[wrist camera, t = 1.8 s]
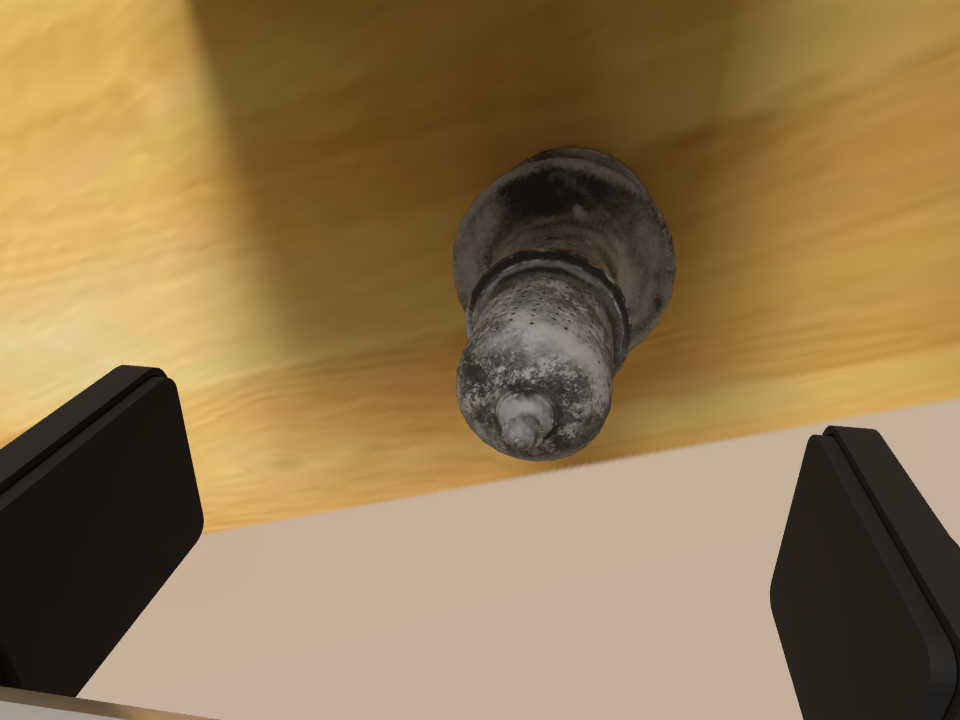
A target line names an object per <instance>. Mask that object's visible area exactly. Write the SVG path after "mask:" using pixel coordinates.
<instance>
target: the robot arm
mask: <svg viewBox="0 0 960 720" xmlns="http://www.w3.org/2000/svg"><path fill="white" fill-rule="evenodd" d="M203 523H204V518H203V512H202V507H201V502H200V497H199V492H198V488H197V483H196V478H195V473H194V468H193V463H192V459H191V454H190V449H189V444H188V439H187V434H186V430H185V425H184V420H183V415H182V410H181V405H180V400H179V396H178V391H177V387H176V384H175V382H174V381H173V380H172V379H170V378H167V375H166V374H165V373H164V371H163V370H161V369H160V368H153V367H142V366H130V365H121V366H119V367H116V368H115V369H113V370H112V371H111V372H109V373H108V374H106V375H105V376H104V377H102V378H101V379H99V380H98V381H96V382H95V383H94V384H92V385H91V386H89V387H88V388H87V389H85V390H84V391H82V392H81V393H79V394H78V395H77V396H75V397H74V398H72V399H71V400H70V401H68V402H67V403H65V404H64V405H63V406H61V407H60V408H58V409H57V410H55V411H54V412H53V413H51V414H50V415H48V416H47V417H46V418H44V419H43V420H41V421H40V422H38V423H37V424H36V425H34V426H33V427H31V428H30V429H29V430H27V431H26V432H24V433H23V434H21V435H20V436H19V437H17V438H16V439H14V440H13V441H12V442H10V443H9V444H7V445H6V446H5V447H3V448H2V449H0V720H217V719H211V718H205V717H199V716H192V715H186V714H179V713H173V712H166V711H160V710H153V709H146V708H140V707H134V706H127V705H120V704H114V703H107V702H100V701H94V700H88V699H81V698H75V697H76V696H77V695H78V693H79V692H80V691H81V689H82V688H83V687H84V686H85V684H86V683H87V682H88V681H89V679H90V678H91V677H92V675H93V674H94V673H95V672H96V670H97V669H98V668H99V666H100V665H101V664H102V662H103V661H104V660H105V659H106V657H107V656H108V655H109V654H110V652H111V651H112V650H113V649H114V647H115V646H116V645H117V643H118V642H119V641H120V640H121V638H122V637H123V636H124V634H125V633H126V632H127V631H128V629H129V628H130V627H131V625H132V624H133V623H134V622H135V620H136V619H137V618H138V616H139V615H140V614H141V612H142V611H143V610H144V609H145V608H146V606H147V605H148V604H149V602H150V601H151V600H152V599H153V597H154V596H155V595H156V593H157V592H158V591H159V590H160V588H161V587H162V586H163V585H164V583H165V582H166V581H167V579H168V578H169V577H170V576H171V574H172V573H173V572H174V570H175V569H176V568H177V567H178V565H179V564H180V563H181V561H182V560H183V559H184V557H185V556H186V555H187V554H188V553H189V551H190V550H191V549H192V547H193V546H194V545H195V544H196V542H197V541H198V539H199V538H200V535H201V533H202V529H203ZM770 603H771V609H772V613H773V617H774V620H775V623H776V627H777V630H778V634H779V637H780V641H781V644H782V648H783V651H784V654H785V658H786V661H787V665H788V668H789V672H790V675H791V678H792V682H793V685H794V689H795V692H796V696H797V699H798V702H799V706H800V709H801V712H802V716H803V719H804V720H960V547H959V546H958V544H957V543H956V542H955V541H954V540H953V539H952V538H951V537H950V536H949V534H948V533H947V531H946V530H945V528H944V527H943V526H942V524H941V523H940V521H939V520H938V518H937V517H936V515H935V514H934V513H933V511H932V509H931V508H930V507H929V505H928V504H927V502H926V501H925V499H924V498H923V496H922V495H921V493H920V492H919V490H918V489H917V487H916V486H915V485H914V483H913V482H912V480H911V479H910V477H909V476H908V474H907V473H906V471H905V470H904V469H903V467H902V465H901V464H900V463H899V461H898V460H897V458H896V457H895V455H894V454H893V452H892V451H891V449H890V448H889V446H888V445H887V444H886V442H885V441H884V439H883V438H882V436H881V435H880V433H878V431H876V430H874V429H866V428H854V427H853V428H852V427H842V426H828V427H827V428H826V429H825V431H824V432H823V434H822V435H812V436H811V437H810V438H809V440H808V443H807V446H806V450H805V454H804V458H803V462H802V466H801V470H800V473H799V477H798V481H797V485H796V489H795V492H794V496H793V500H792V504H791V508H790V512H789V516H788V520H787V523H786V527H785V531H784V535H783V539H782V543H781V547H780V551H779V554H778V558H777V562H776V566H775V570H774V574H773V578H772V582H771V587H770Z"/></svg>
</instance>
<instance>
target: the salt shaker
mask: <svg viewBox="0 0 960 720" xmlns="http://www.w3.org/2000/svg"><path fill="white" fill-rule="evenodd" d="M675 272H676V265H675V255H674V246H673V239H672V236H671V234H670V232H669V229H668V227H667V224H666V222H665V219H664V217H663V214H662V212H661V211H660V209H659V208H658V207H657V206H656V204H655V203H654V202H653V201H652V199H651V198H650V196H649V194H648V192H647V189H646V188H645V186H644V185H643V184H642V183H641V181H640V180H639V179H638V178H637V176H636V175H635V174H634V173H633V171H632V170H631V169H629V168H628V167H626V166H625V165H624V164H622V163H621V162H619V161H618V160H617V159H615V158H614V157H612V156H609V155H606V154H604V153H601V152H598V151H595V150H593V149H588V148H574V147H564V148H559V149H554V150H549V151H544V152H542V153H540V154H538V155H536V156H534V157H532V158H530V159H527V160H525V161H523V162H522V163H521V164H520V165H519V166H518V167H516V168H515V169H514V170H512V171H510V172H508V173H505V174H503V175H501V176H499V177H498V178H497V179H496V180H495V181H494V182H493V183H492V184H491V185H489V186H488V187H487V188H486V189H485V190H484V191H483V192H482V193H480V194H479V195H478V196H477V198H476V199H475V201H474V202H473V204H472V205H471V207H470V209H469V210H468V212H467V213H466V215H465V216H464V218H463V219H462V221H461V224H460V228H459V231H458V234H457V238H456V241H455V244H454V247H453V277H454V282H455V286H456V290H457V294H458V298H459V301H460V303H461V305H462V307H463V309H464V311H465V312H466V333H467V337H468V342H467V345H466V347H465V349H464V351H463V353H462V356H461V359H460V362H459V365H458V368H457V386H456V395H457V399H458V403H459V406H460V410H461V413H462V415H463V416H464V418H465V420H466V422H467V423H468V425H469V427H470V428H471V429H472V430H473V431H474V432H475V433H476V434H477V435H478V436H479V438H480V439H481V440H482V441H483V442H485V443H486V444H488V445H490V446H491V447H493V448H494V449H496V450H497V451H499V452H501V453H504V454H506V455H509V456H512V457H514V458H517V459H523V460H530V461H550V460H557V459H560V458H564V457H567V456H570V455H573V454H574V453H576V452H578V451H579V450H581V449H582V448H584V447H586V446H587V445H588V444H589V443H590V442H591V441H592V440H593V439H594V438H595V437H596V435H597V434H598V433H599V432H600V430H601V428H602V426H603V424H604V422H605V420H606V418H607V415H608V413H609V411H610V408H611V400H612V393H613V377H614V376H615V374H616V373H617V372H618V371H619V370H620V369H621V367H622V365H623V363H624V361H625V359H626V357H627V354H628V352H629V350H631V349H632V348H634V347H635V346H637V345H638V344H640V343H641V342H642V341H643V340H644V338H645V337H646V336H647V335H648V334H649V333H650V332H651V330H652V329H653V328H654V327H655V326H656V325H657V324H658V322H659V321H660V318H661V316H662V314H663V312H664V310H665V308H666V306H667V304H668V302H669V300H670V298H671V294H672V288H673V283H674V277H675Z"/></svg>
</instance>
